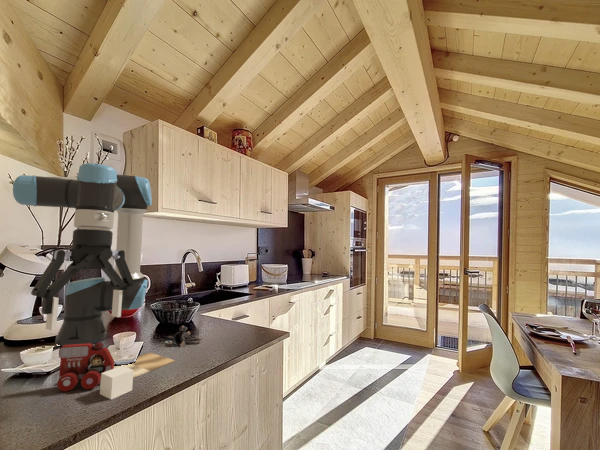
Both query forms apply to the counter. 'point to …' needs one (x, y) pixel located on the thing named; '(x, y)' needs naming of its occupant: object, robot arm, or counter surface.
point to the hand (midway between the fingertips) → (86, 322)
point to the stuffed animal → (182, 338)
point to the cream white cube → (116, 382)
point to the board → (147, 363)
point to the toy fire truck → (83, 365)
